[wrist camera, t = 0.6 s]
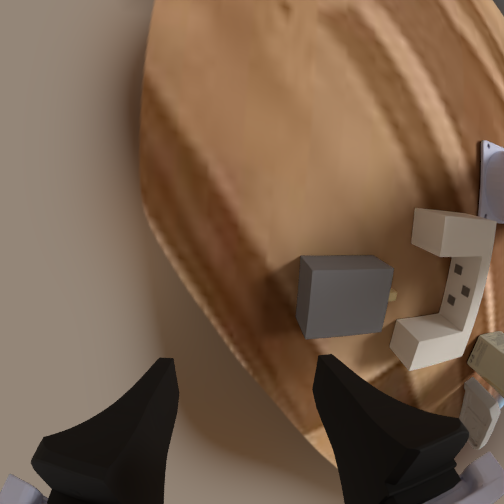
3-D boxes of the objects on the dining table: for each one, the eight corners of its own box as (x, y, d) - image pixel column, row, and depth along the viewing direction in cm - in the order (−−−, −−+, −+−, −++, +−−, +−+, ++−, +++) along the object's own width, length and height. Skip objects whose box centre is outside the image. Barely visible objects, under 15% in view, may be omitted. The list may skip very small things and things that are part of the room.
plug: (384, 254, 21) (407, 268, 18) (375, 310, 23) (394, 330, 19) (299, 254, 21) (312, 270, 17) (295, 315, 22) (305, 339, 19)
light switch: (472, 376, 27) (503, 407, 20) (462, 419, 30) (484, 447, 23) (464, 382, 27) (494, 415, 20) (455, 424, 30) (476, 453, 23)
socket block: (467, 213, 21) (496, 221, 17) (440, 336, 24) (462, 356, 20) (414, 207, 20) (445, 215, 16) (389, 347, 24) (409, 371, 20)
